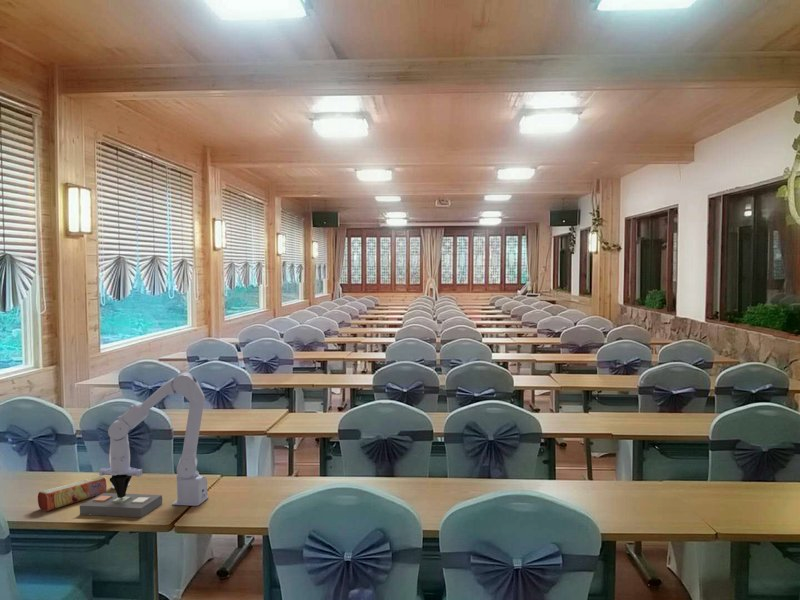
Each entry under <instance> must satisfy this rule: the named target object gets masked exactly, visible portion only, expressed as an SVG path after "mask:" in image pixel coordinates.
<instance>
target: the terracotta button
mask: <svg viewBox="0 0 800 600" xmlns="http://www.w3.org/2000/svg"><path fill="white" fill-rule="evenodd" d="M111 498H112V496H100V497H98V498H96V499H94V500H93V502H106V501H108V500H109V499H111Z"/></svg>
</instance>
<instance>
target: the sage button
mask: <svg viewBox="0 0 800 600" xmlns="http://www.w3.org/2000/svg"><path fill="white" fill-rule="evenodd" d="M130 499H131V497H123V498H116V499H114V500H113V501H112V503H124V502H126V501H128V500H130Z"/></svg>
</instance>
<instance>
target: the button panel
mask: <svg viewBox="0 0 800 600" xmlns="http://www.w3.org/2000/svg"><path fill="white" fill-rule="evenodd" d="M100 496H112V498H111V499H109V500H108V501H106V502H93V500H94V499H96V498H98V497H100ZM124 497H131V499H130V500H128V501H126V502H124V503H112V501H113V500H114V499H116V498H118V496H117V493H115V492H114V493H113V492H106V493H102V494H101V495H98V496H95V497H92V499H91V498H90V499H89V500H87V501H86V502H84V503H82V504H80V505H79V515H80V516H81V515H82V516H98V515H106V516H105V517H119V516H123V517H124V518H143V517H145V516H146V515H148V514H149V513H151V512H152V511H154V510H155V509H157V508H158V507H160V506H161V505H163V495H162V494H145V493H144V494H142V493H126V495H125V496H124ZM138 497H147V498H150V500H148V501H147V502H145V503H144V504H135V503H132V501H133V500H135V499H137V498H138ZM147 513H148V514H147ZM89 514H91V515H89ZM142 516H143V517H142ZM123 517H122V518H123Z"/></svg>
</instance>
